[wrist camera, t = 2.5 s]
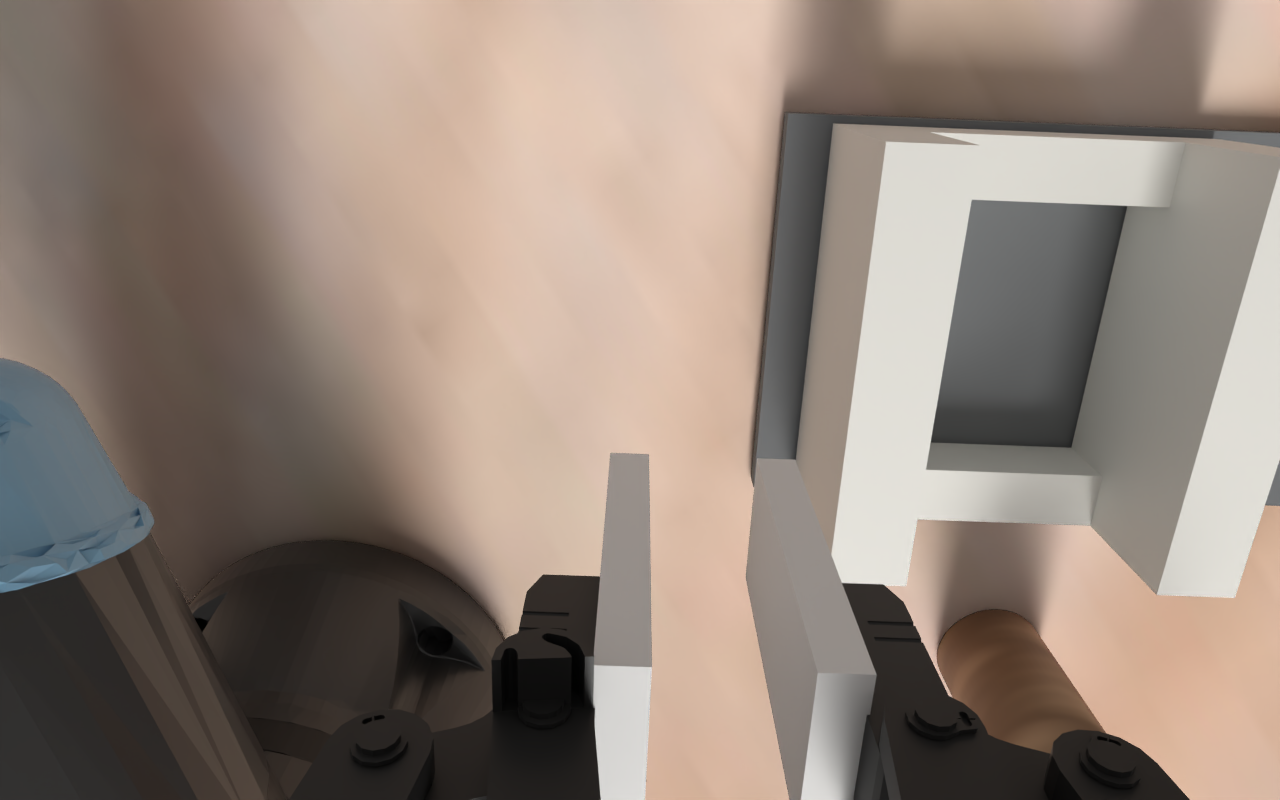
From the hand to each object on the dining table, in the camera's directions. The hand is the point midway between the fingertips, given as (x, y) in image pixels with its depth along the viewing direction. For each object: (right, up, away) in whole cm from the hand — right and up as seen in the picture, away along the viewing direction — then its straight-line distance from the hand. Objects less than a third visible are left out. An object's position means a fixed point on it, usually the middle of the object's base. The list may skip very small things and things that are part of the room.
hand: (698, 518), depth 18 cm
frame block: (+12, +5, +15) cm, 19 cm away
